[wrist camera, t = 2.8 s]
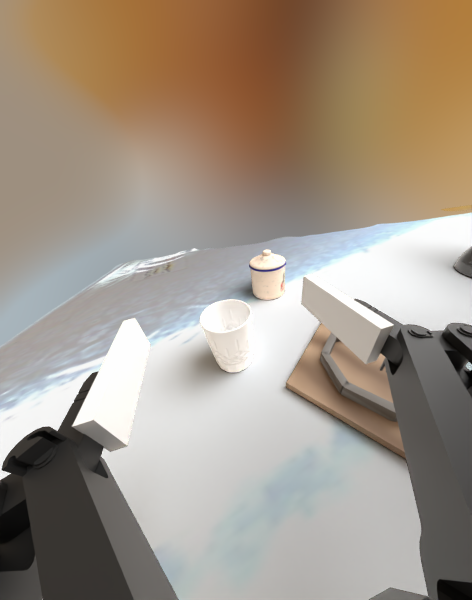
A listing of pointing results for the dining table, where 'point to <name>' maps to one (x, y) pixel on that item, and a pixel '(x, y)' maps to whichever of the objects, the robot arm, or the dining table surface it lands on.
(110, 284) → the dining table surface
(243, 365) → the white cup
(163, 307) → the dining table surface
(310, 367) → the ring holder
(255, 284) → the teacup with lid
